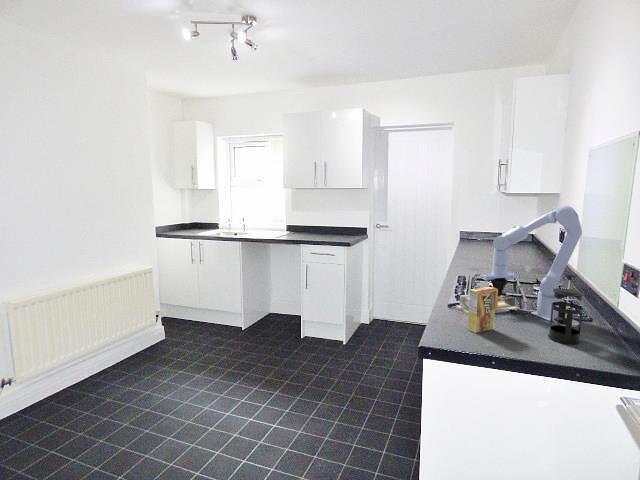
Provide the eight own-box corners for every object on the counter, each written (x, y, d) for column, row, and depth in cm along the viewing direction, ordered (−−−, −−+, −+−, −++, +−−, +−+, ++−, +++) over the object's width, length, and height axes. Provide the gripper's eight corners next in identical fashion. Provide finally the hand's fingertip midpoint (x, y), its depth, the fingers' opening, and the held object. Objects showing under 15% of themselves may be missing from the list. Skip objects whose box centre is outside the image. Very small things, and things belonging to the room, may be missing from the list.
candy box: (484, 325, 150) (487, 286, 148) (493, 329, 146) (496, 289, 144) (467, 329, 146) (469, 289, 144) (476, 333, 143) (478, 292, 140)
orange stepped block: (497, 306, 168) (498, 289, 167) (487, 307, 167) (488, 290, 165) (490, 303, 172) (491, 286, 171) (480, 304, 171) (481, 287, 170)
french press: (584, 347, 131) (591, 279, 127) (551, 343, 134) (557, 276, 131) (574, 334, 142) (580, 271, 138) (544, 330, 145) (550, 269, 142)
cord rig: (519, 309, 168) (520, 296, 167) (470, 315, 161) (471, 301, 160) (502, 302, 177) (503, 289, 176) (455, 307, 171) (456, 294, 170)
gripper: (507, 261, 173) (505, 291, 176) (479, 263, 170) (477, 294, 172) (519, 264, 167) (517, 296, 169) (490, 266, 163) (488, 298, 165)
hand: (497, 295), depth 170 cm, fingers closed
